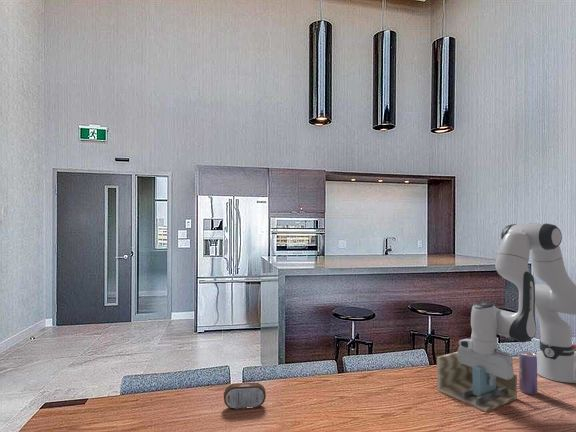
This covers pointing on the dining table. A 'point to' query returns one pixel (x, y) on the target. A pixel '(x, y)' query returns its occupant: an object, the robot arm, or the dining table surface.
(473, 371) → the light blue flat block
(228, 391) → the tin
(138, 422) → the dining table surface
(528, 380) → the beverage can
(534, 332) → the robot arm
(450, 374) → the rack
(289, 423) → the dining table surface
